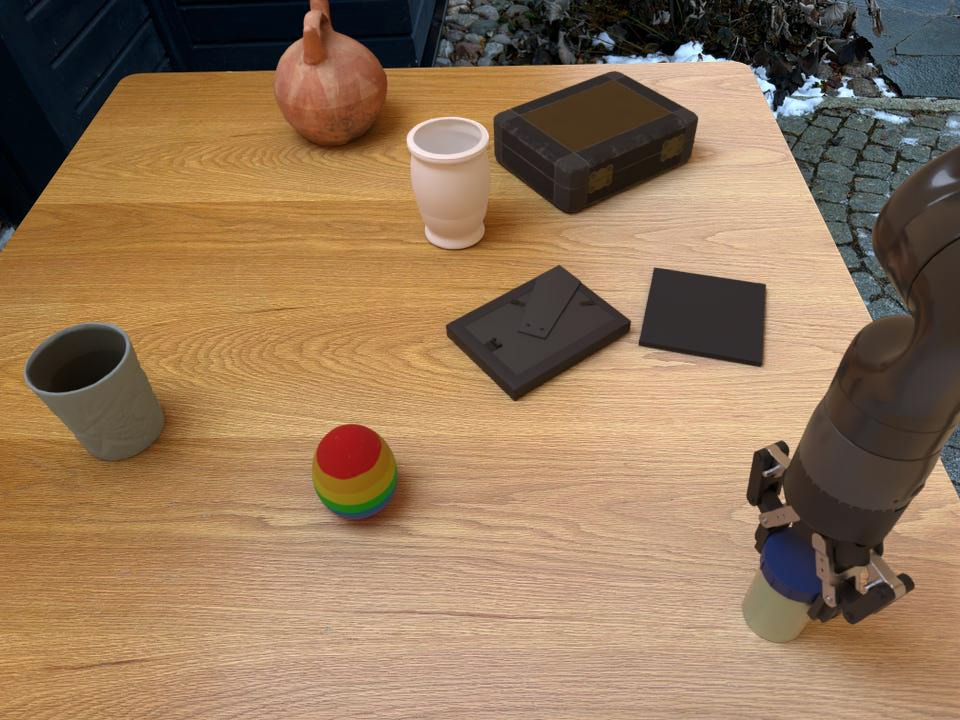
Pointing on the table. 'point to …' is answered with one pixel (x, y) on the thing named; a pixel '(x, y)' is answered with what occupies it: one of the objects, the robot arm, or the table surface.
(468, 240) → the jar
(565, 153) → the cash box
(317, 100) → the jug
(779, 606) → the spice jar
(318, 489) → the decorative egg
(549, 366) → the picture frame
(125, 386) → the grey cup
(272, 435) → the table surface
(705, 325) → the mat
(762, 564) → the lid
